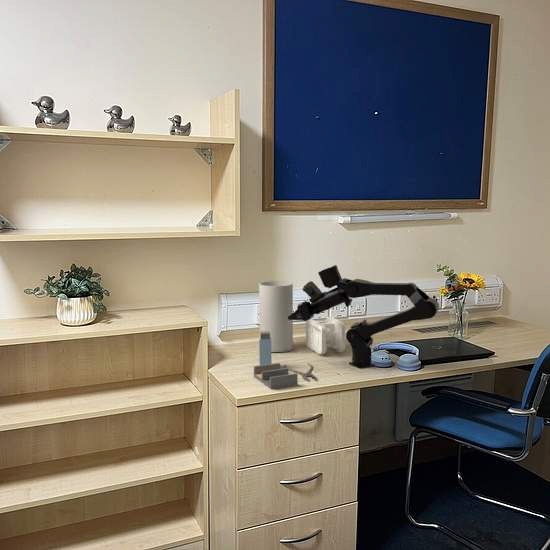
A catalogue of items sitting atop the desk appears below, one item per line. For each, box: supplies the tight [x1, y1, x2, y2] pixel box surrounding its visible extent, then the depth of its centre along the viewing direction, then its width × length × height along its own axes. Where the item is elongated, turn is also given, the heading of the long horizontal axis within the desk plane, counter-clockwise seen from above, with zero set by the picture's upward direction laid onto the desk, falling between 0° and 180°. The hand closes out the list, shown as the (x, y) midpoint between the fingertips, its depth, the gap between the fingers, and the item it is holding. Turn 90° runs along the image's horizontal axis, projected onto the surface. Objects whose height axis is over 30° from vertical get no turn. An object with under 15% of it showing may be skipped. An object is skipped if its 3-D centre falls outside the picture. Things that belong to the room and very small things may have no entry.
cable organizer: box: [305, 316, 346, 356], centre depth 229 cm, size 15×11×12 cm
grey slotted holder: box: [253, 362, 299, 390], centre depth 194 cm, size 9×14×4 cm, turn 24°
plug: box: [258, 330, 273, 366], centre depth 209 cm, size 4×4×12 cm
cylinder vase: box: [258, 280, 294, 353], centre depth 232 cm, size 12×12×25 cm
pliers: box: [283, 362, 318, 382], centre depth 204 cm, size 10×1×20 cm
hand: (292, 315), depth 219 cm, fingers open, 9 cm apart
